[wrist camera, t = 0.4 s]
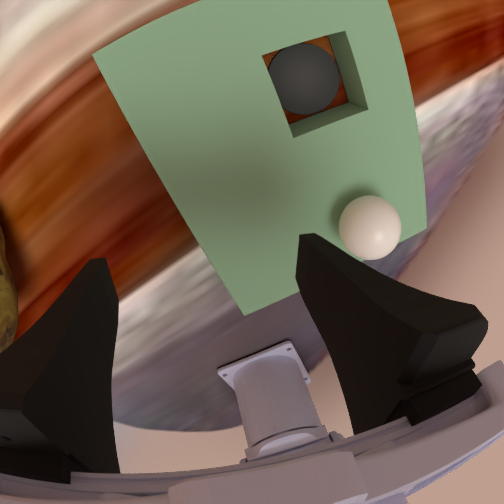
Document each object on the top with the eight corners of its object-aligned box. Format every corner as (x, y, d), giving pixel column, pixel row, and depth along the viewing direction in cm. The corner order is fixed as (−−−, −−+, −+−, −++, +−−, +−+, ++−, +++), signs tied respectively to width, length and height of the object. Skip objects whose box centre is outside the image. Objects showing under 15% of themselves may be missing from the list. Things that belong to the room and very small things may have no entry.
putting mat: (409, 213, 25) (426, 228, 23) (238, 293, 26) (244, 316, 24) (352, -32, 13) (372, -38, 11) (102, 54, 14) (92, 54, 12)
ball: (383, 223, 22) (414, 255, 19) (335, 246, 22) (361, 282, 19) (375, 176, 20) (411, 203, 16) (322, 199, 20) (351, 233, 17)
